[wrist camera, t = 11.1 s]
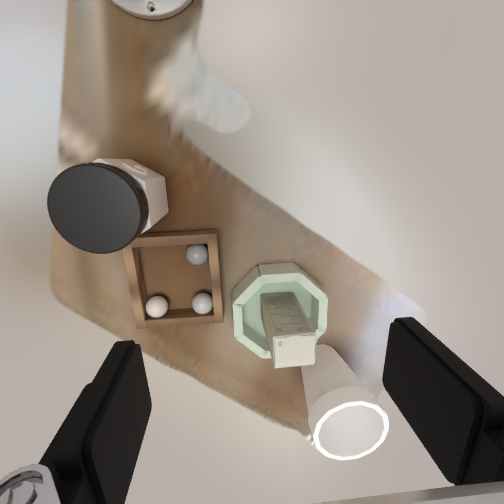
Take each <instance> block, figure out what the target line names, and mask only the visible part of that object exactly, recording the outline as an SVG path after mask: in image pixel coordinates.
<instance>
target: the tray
mask: <svg viewBox="0 0 504 504" xmlns="http://www.w3.org/2000/svg"><path fill="white" fill-rule="evenodd" d="M204 243H208V252H209V263H210V274H211V286H212V297H213V307H212V309H211V311H210V312H208V313H206V314H198V313H197V312H195V311H194V309H181V310H167V312H166V313H165V314H164V315H163V316H161V317H158V318H155V317H151V316H150V315H149V314H148V313H147V312H146V303H147V295H146V289H145V283H144V277H143V271H142V265H141V259H140V253H139V247H152V246H170V245H187V244H204ZM122 251H123V256H124V262H125V267H126V272H127V278H128V283H129V288H130V294H131V299H132V305H133V310H134V315H135V321H136V326H137V329H144V328H158V327H171V326H184V325H197V324H210V323H223V317H224V312H223V299H222V286H221V273H220V261H219V248H218V235H217V229H214V230H196V231H177V232H159V233H142V234H140V235H139V236H138V237H137V238H136V239H135V240H134V241H133V242H131V243H130V244H129V245H128V246H126V247H125V248H123V249H122Z"/></svg>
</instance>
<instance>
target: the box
mask: <svg viewBox="0 0 504 504" xmlns="http://www.w3.org/2000/svg"><path fill="white" fill-rule="evenodd" d="M260 309H261V320H262V323H263V327H264V331H265V335H266V339H267V343H268V347H269V350H270V354H271V358H272V362H273V366H274V368H284V367H295V366H304V365H313V364H315V360H316V347H317V333H316V331H315V330H314V328H313V326H312V325H311V323H310V321H309V319H308V317H307V316H306V314H305V312H304V310H303V309H302V307H301V305H300V303H299V301H298V299H297V298H296V296H295V294H294V292H292V291H290V292H275V293H264V294H261V295H260Z"/></svg>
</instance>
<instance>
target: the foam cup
mask: <svg viewBox="0 0 504 504" xmlns="http://www.w3.org/2000/svg"><path fill="white" fill-rule="evenodd" d="M301 372H302V378H303V384H304V390H305V396H306V402H307V408H308V414H309V417H308V422H309V425H310V429H311V432H312V435H313V438H314V442H315V445H316V448H317V449H318V450H319V451H320V452H321V453H323V454H324V455H325V456H326V457H329V458H333V459H337V460H350V459H358V458H360V457H362V456H364V455H366V454H368V453H371V452H373V451H374V450H375V449H376V448H377V447H378V446H379V445H380V444H381V443H382V442H383V441H384V439H385V437H386V434H387V432H388V429H389V423H388V417H387V414H386V412H385V411H384V409H383V407H382V406H381V404H380V403H379V401H378V399H377V398H376V397H375V396H374V395H373V394H372V393H371V392H370V391H369V390H367V388H366V387H365V386H364V385H363V384H362V382H361V381H360V380H359V379H358V377H357V376H356V375H355V374H354V373H353V371H352V370H351V369H350V368H349V366H348V365H347V364H346V363H345V362H344V360H343V359H342V358H341V357H340V356H339V354H338V353H337V352H336V351H335V350H334V349H333V348H332V347H331V346H328V345H325V344H320V345H317V347H316V360H315V364H313V365H304V366H301Z"/></svg>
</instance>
